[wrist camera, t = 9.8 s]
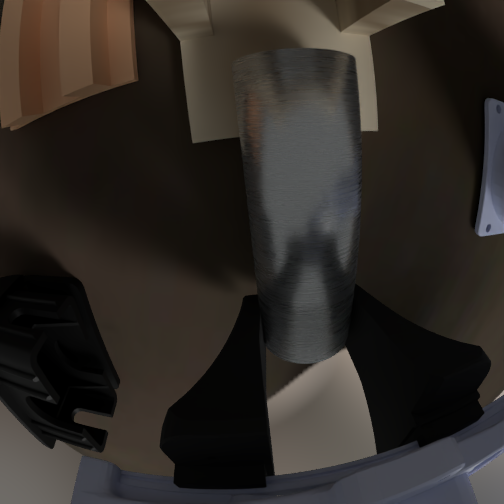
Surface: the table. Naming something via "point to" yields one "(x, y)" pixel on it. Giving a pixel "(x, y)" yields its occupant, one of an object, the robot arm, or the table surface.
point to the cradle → (62, 54)
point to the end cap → (54, 360)
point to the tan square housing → (271, 46)
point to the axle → (302, 193)
